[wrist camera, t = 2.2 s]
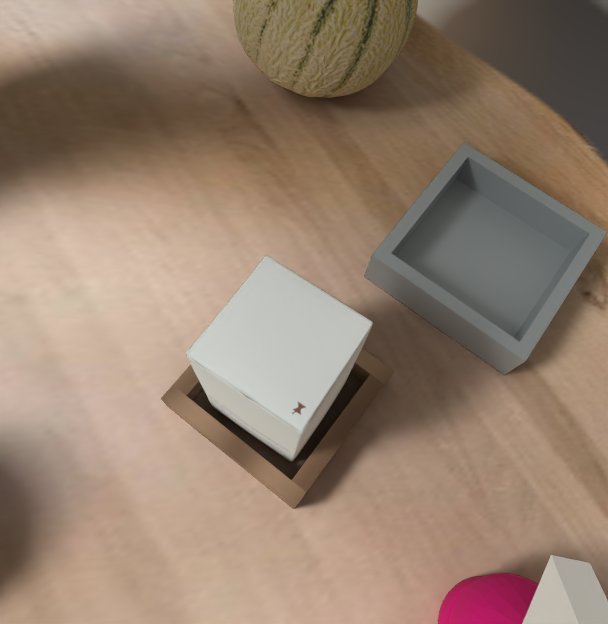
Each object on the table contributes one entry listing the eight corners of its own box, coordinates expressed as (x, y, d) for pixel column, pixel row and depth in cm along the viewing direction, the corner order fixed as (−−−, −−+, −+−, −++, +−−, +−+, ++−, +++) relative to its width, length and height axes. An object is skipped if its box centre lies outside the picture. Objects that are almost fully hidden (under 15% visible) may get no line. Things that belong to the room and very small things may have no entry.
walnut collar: (167, 406, 40) (160, 398, 38) (267, 291, 44) (266, 278, 41) (293, 508, 38) (294, 507, 36) (387, 379, 42) (394, 371, 39)
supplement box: (349, 380, 41) (380, 323, 30) (291, 465, 39) (301, 440, 27) (267, 325, 43) (266, 250, 31) (207, 405, 40) (181, 355, 28)
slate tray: (364, 276, 44) (372, 255, 41) (449, 169, 49) (463, 142, 45) (503, 375, 42) (525, 361, 39) (581, 254, 46) (607, 232, 43)
